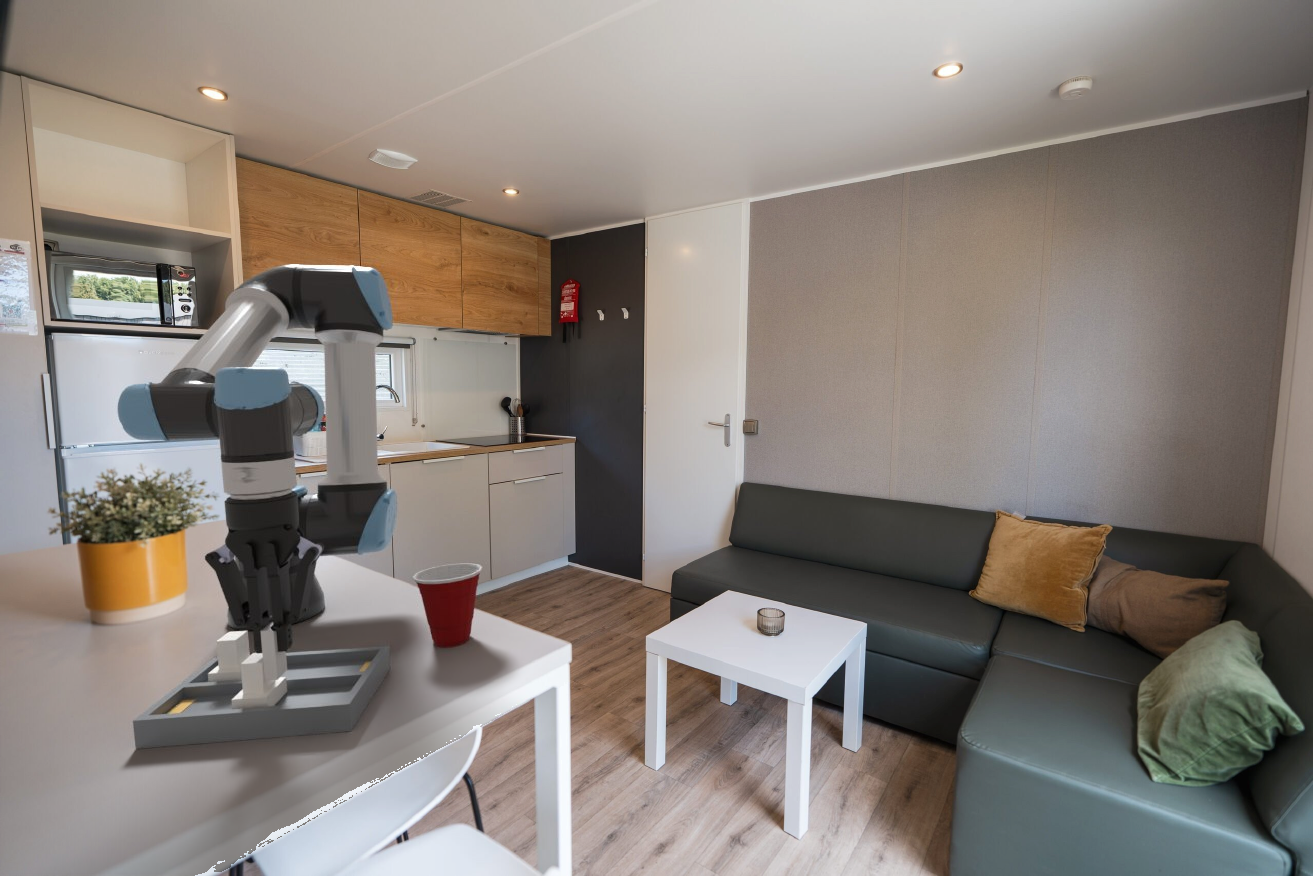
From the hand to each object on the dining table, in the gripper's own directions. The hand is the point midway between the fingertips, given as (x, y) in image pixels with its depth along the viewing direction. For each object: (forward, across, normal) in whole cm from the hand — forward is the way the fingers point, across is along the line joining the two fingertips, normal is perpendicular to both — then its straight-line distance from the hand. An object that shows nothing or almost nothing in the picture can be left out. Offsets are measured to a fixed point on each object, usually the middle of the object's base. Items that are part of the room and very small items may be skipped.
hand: (276, 675), depth 76 cm
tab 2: (+4, -2, 0) cm, 4 cm away
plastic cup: (+6, +18, +20) cm, 27 cm away
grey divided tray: (+6, -2, +4) cm, 7 cm away
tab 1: (+4, -9, +7) cm, 12 cm away
